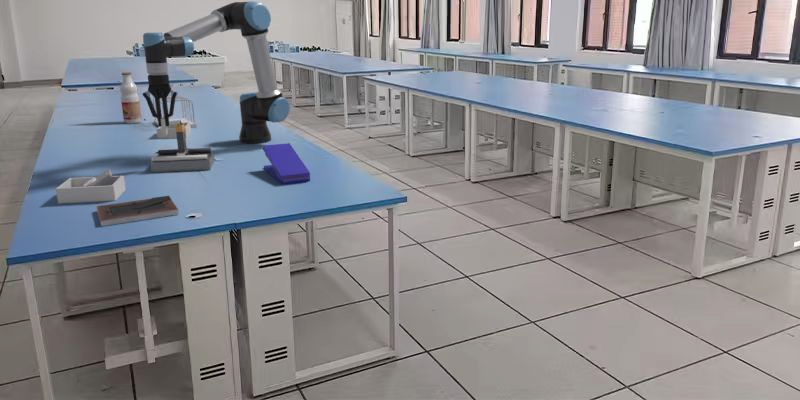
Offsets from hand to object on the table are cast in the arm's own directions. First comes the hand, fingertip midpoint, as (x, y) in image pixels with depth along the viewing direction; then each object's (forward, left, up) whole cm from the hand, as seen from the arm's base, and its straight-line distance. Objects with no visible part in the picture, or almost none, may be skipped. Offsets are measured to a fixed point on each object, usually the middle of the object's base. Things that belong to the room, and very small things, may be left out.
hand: (165, 134), depth 241 cm
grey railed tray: (-5, 0, -9) cm, 11 cm away
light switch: (+18, +38, -14) cm, 44 cm away
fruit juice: (+39, -115, -14) cm, 122 cm away
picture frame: (-1, +60, -14) cm, 62 cm away
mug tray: (+9, -70, -13) cm, 72 cm away
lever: (-6, 0, -8) cm, 10 cm away
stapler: (-46, +21, -14) cm, 53 cm away
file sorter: (+14, -101, -14) cm, 103 cm away
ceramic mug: (+9, -69, -14) cm, 71 cm away
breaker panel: (-6, 0, -13) cm, 15 cm away
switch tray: (+18, +38, -13) cm, 44 cm away
